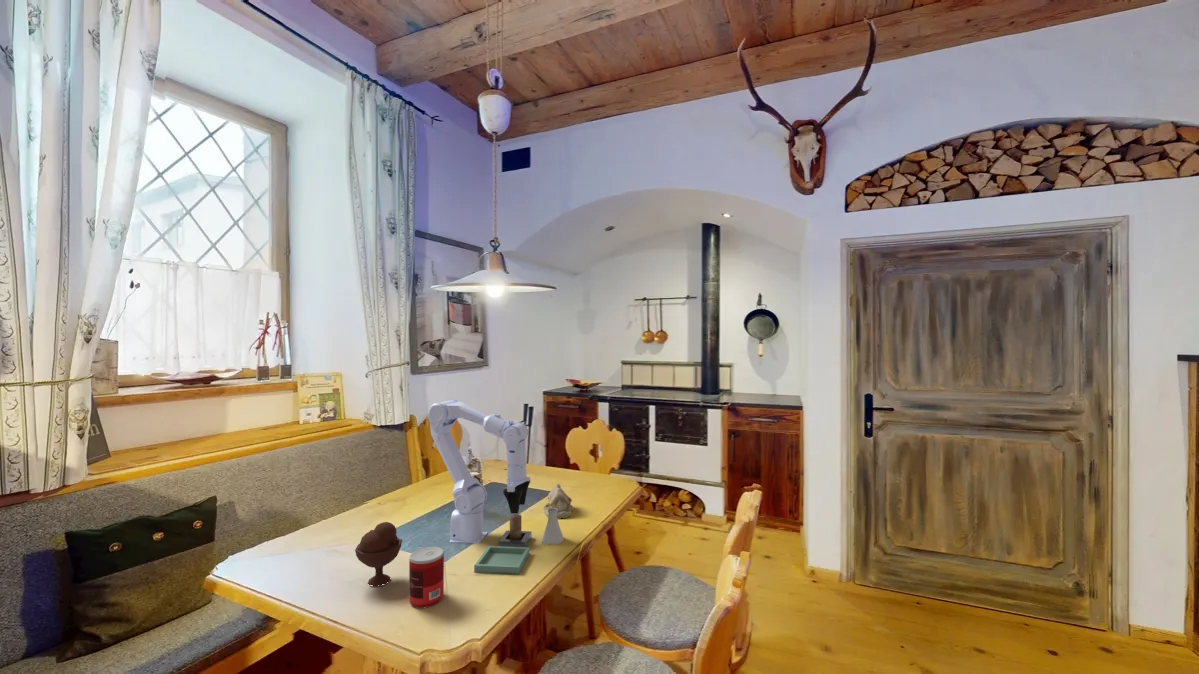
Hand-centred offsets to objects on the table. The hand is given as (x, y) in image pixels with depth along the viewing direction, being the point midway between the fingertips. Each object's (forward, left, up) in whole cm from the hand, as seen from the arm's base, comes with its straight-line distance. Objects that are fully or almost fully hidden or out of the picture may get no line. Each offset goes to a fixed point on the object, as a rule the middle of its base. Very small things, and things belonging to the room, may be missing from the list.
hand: (517, 508), depth 145 cm
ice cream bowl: (-30, -25, -11) cm, 40 cm away
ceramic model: (+8, +28, -11) cm, 31 cm away
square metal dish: (-1, 0, -11) cm, 11 cm away
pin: (-1, 0, -10) cm, 10 cm away
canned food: (-14, -32, -11) cm, 37 cm away
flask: (+10, +3, -11) cm, 15 cm away
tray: (-1, -13, -11) cm, 17 cm away
